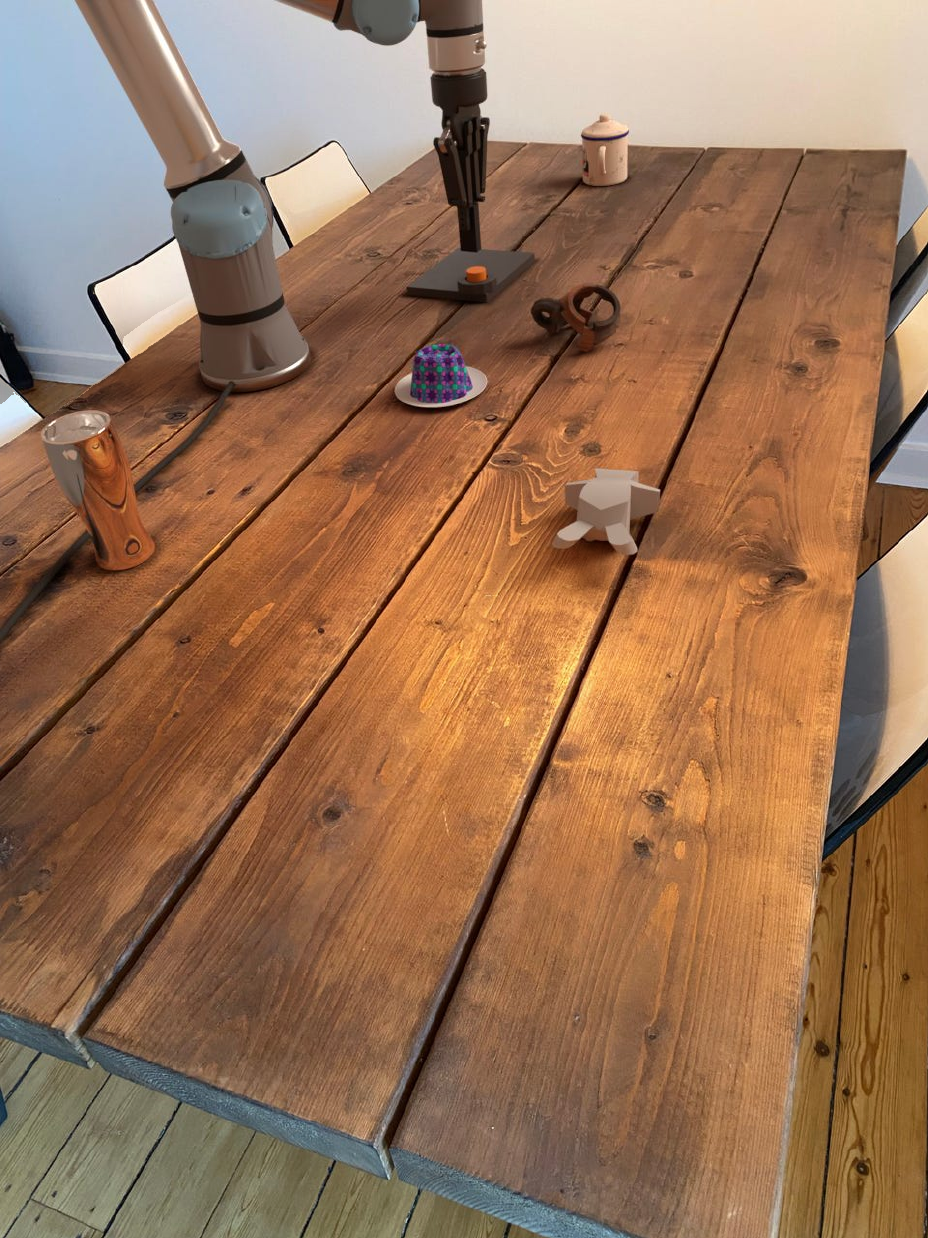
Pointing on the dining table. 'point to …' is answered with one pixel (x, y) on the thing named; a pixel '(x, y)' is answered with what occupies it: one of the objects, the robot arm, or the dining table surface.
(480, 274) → the button
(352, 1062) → the dining table surface
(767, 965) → the dining table surface
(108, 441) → the beer glass
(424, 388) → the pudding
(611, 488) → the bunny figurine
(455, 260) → the scale
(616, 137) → the teacup with lid
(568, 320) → the rusty split ring clamp
